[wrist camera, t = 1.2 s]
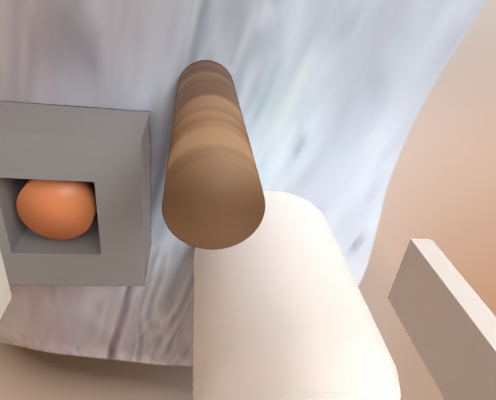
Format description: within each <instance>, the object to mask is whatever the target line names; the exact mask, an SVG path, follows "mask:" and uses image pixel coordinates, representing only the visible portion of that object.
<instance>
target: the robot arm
mask: <svg viewBox="0 0 496 400" xmlns="http://www.w3.org/2000/svg"><path fill="white" fill-rule="evenodd" d="M11 298H12V295H11V291H10V287H9V283H8V279H7V275H6V271H5V267H4V263H3V259H2V255H1V251H0V319H1V317H2V315H3V313H4V311H5V309H6V307H7V306H8V304H9V302H10V300H11ZM388 299H389V301H390V303H391V305H392V306H393V308H394V310H395V312H396V314H397V315H398V317H399V319H400V321H401V322H402V324H403V326H404V328H405V330H406V331H407V333H408V335H409V337H410V339H411V341H412V342H413V344H414V346H415V348H416V349H417V351H418V353H419V355H420V357H421V358H422V360H423V362H424V364H425V366H426V367H427V369H428V371H429V373H430V375H431V376H432V378H433V380H434V382H435V383H436V385H437V387H438V389H439V391H440V392H441V394H442V396H443V398H444V399H445V400H496V317H495V316H494V315H493V313H492V312H491V311H490V310H489V308H488V307H487V306H486V305H485V304H484V302H483V301H482V300H481V299H480V298H479V296H478V295H477V294H476V293H475V292H474V291H473V289H472V288H471V287H470V286H469V284H468V283H467V282H466V281H465V279H464V278H463V277H462V276H461V275H460V274H459V272H458V271H457V270H456V269H455V267H454V266H453V265H452V264H451V263H450V261H449V260H448V259H447V258H446V256H445V255H444V254H443V253H442V252H441V250H440V249H439V248H438V247H437V246H436V244H435V243H434V242H433V241H432V239H410V242H409V245H408V247H407V250H406V252H405V255H404V257H403V260H402V263H401V265H400V268H399V270H398V273H397V275H396V278H395V281H394V283H393V286H392V288H391V291H390V294H389V296H388Z"/></svg>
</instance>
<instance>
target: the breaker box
mask: <svg viewBox="0 0 496 400" xmlns="http://www.w3.org/2000/svg"><path fill="white" fill-rule="evenodd" d="M29 179H40V180H62V181H84V182H91V183H92V184H93V185H94V187H95V194H96V205H97V211H96V213H95V216H94V219H93V221H92V224H91V226H90V227H89V228H88V230H87V231H86V232H84V233H83V234H82V235H80V236H78V237H75V238H72V239H66V240H57V239H50V238H47V237H44V236H41V235H39V234H37V233H35V232H34V231H32V230H31V229H29V228H28V227H27V226H26V225H25V224H24V223H23V221H22V220H21V218H20V217H19V214H18V212H17V206H16V202H17V197H18V195H19V193H20V191H21V190H22V189H23V187H24V186H25V184H26V183H27V182H28V180H29ZM150 248H151V168H150V111H136V110H122V109H108V108H94V107H80V106H66V105H52V104H37V103H23V102H9V101H0V251H1V255H2V259H3V263H4V267H5V271H6V275H7V279H8V283H9V285H76V286H145V281H146V274H147V268H148V261H149V255H150Z"/></svg>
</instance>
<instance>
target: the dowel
mask: <svg viewBox="0 0 496 400" xmlns="http://www.w3.org/2000/svg"><path fill="white" fill-rule="evenodd" d="M162 213H163V217H164V220H165V223H166V225H167V227H168V228H169V230H170V231H171V232H172V233H173V234H174V235H175V236H176V237H177V238H178V239H180V240H181V241H183V242H184V243H186V244H188V245H191V246H193V247H196V248H201V249H208V250H218V249H224V248H229V247H232V246H235V245H237V244H239V243H241V242H243V241H244V240H246V239H247V238H249V237H250V236H251V235H252V234H253V233H254V232H255V231H256V230H257V228H258V227H259V225H260V224H261V222H262V219H263V217H264V213H265V198H264V194H263V190H262V186H261V182H260V179H259V175H258V171H257V168H256V164H255V160H254V157H253V153H252V149H251V146H250V142H249V138H248V135H247V131H246V127H245V124H244V120H243V116H242V113H241V109H240V105H239V101H238V98H237V94H236V90H235V87H234V83H233V80H232V77H231V75H230V73H229V72H228V71H227V70H226V68H225V67H223V66H222V65H220V64H219V63H217V62H214V61H210V60H201V61H197V62H194V63H192V64H191V65H189V66H188V67H187V68H186V69H185V70H184V71H183V72H182V74H181V76H180V79H179V83H178V90H177V98H176V105H175V113H174V120H173V127H172V135H171V142H170V150H169V157H168V164H167V172H166V179H165V187H164V194H163V202H162Z"/></svg>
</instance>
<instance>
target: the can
mask: <svg viewBox="0 0 496 400" xmlns="http://www.w3.org/2000/svg"><path fill="white" fill-rule="evenodd" d="M263 194H264V198H265V213H264V217H263V219H262V222H261V224H260V225H259V227H258V228H257V230H256V231H255V232H254V233H253V234H252V235H251V236H250V237H249V238H247V239H246V240H244V241H243V242H241V243H239V244H237V245H235V246H232V247H229V248H224V249H218V250H208V249H201V248H196V247H195V252H194V321H193V400H400V397H401V393H400V386H399V380H398V374H397V368H396V366H395V364H394V362H393V360H392V358H391V356H390V354H389V351H388V349H387V347H386V345H385V344H384V341H383V339H382V337H381V335H380V333H379V330H378V328H377V326H376V324H375V322H374V320H373V318H372V316H371V314H370V311H369V309H368V307H367V305H366V303H365V301H364V299H363V297H362V294H361V292H360V291H359V288H358V286H357V284H356V282H355V280H354V278H353V276H352V273H351V271H350V269H349V267H348V265H347V263H346V261H345V259H344V257H343V254H342V252H341V250H340V248H339V246H338V244H337V242H336V240H335V238H334V235H333V233H332V231H331V229H330V227H329V225H328V223H327V221H326V219H325V217H324V215H323V213H321V212H320V211H319V210H318V209H317V208H316V207H315V206H314V205H312V204H311V203H310V202H309V201H307V200H305V199H302V198H300V197H298V196H295V195H293V194H290V193H288V192H281V191H270V190H263Z"/></svg>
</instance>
